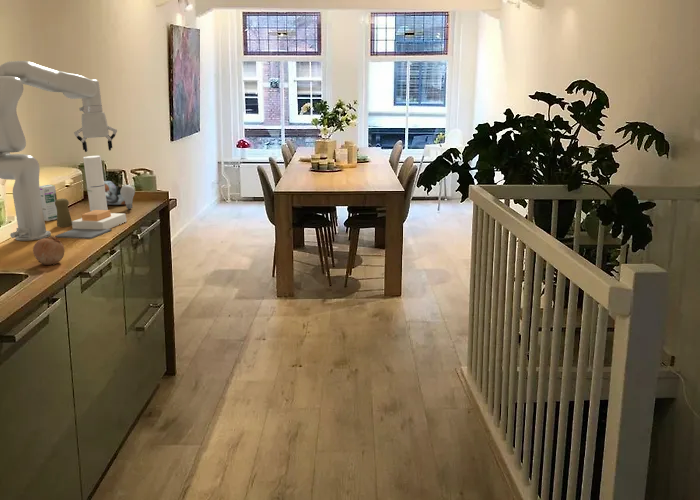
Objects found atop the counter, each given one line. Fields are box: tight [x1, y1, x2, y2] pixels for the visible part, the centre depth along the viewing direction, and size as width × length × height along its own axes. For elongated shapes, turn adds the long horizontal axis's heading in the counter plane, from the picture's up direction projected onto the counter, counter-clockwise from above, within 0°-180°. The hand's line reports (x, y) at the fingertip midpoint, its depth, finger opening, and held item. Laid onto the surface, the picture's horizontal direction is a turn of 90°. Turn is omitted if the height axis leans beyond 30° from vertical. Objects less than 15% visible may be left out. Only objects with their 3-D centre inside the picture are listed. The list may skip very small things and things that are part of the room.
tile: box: [81, 209, 112, 221], centre depth 290 cm, size 9×7×2 cm
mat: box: [54, 228, 112, 240], centre depth 280 cm, size 13×16×1 cm
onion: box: [32, 235, 65, 266], centre depth 238 cm, size 10×9×10 cm
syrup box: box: [39, 184, 58, 222], centre depth 308 cm, size 6×6×14 cm
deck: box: [71, 212, 127, 229], centre depth 292 cm, size 16×14×4 cm
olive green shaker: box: [55, 198, 73, 228], centre depth 295 cm, size 6×6×11 cm
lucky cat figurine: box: [104, 179, 126, 206], centre depth 335 cm, size 15×12×14 cm
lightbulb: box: [120, 184, 136, 210], centre depth 323 cm, size 6×6×11 cm
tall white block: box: [82, 155, 109, 212], centre depth 313 cm, size 7×7×25 cm
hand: (98, 150), depth 307 cm, fingers open, 9 cm apart
